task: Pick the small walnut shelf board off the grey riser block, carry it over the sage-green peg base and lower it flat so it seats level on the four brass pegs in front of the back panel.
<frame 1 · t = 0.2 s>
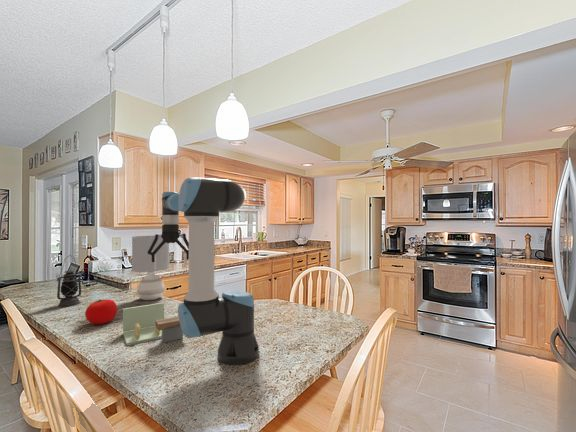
hand: (170, 267, 142), 27 cm above the countertop, fingers open, 13 cm apart
riser: (172, 339, 123), on the countertop
shelf board: (172, 325, 123), point 6 cm above the countertop, touching riser
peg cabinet: (147, 337, 126), on the countertop
tomato: (101, 323, 144), on the countertop
lantern: (69, 304, 177), on the countertop
lamp: (151, 299, 189), on the countertop
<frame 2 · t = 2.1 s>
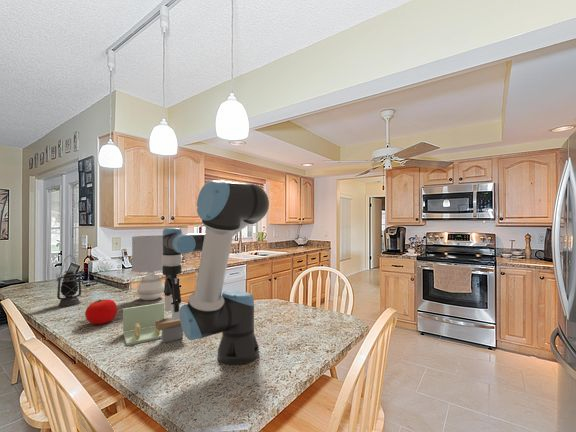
hand: (171, 314, 124), 10 cm above the countertop, fingers open, 13 cm apart
nothing on the countertop moved.
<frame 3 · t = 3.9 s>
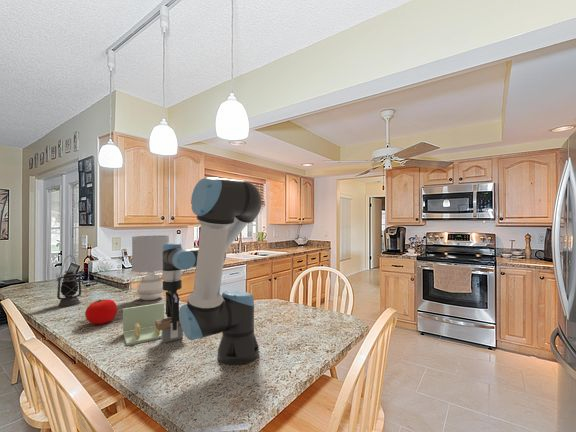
hand: (172, 334, 123), 2 cm above the countertop, fingers closed on shelf board, 6 cm apart
shelf board: (172, 325, 123), point 6 cm above the countertop, touching gripper, riser
everything else where it was.
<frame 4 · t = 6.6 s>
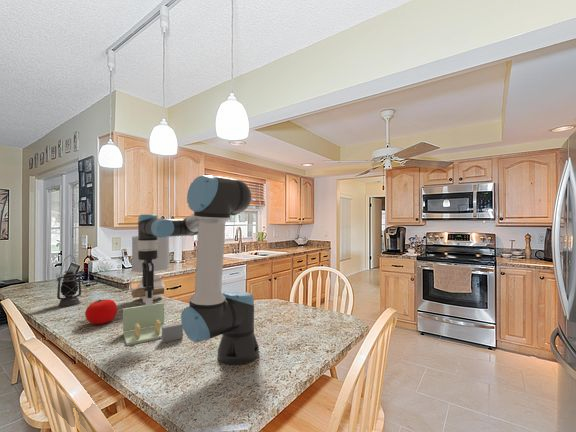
hand: (147, 303, 126), 14 cm above the countertop, fingers closed on shelf board, 6 cm apart
shelf board: (147, 294, 126), point 18 cm above the countertop, touching gripper
everything else where it was.
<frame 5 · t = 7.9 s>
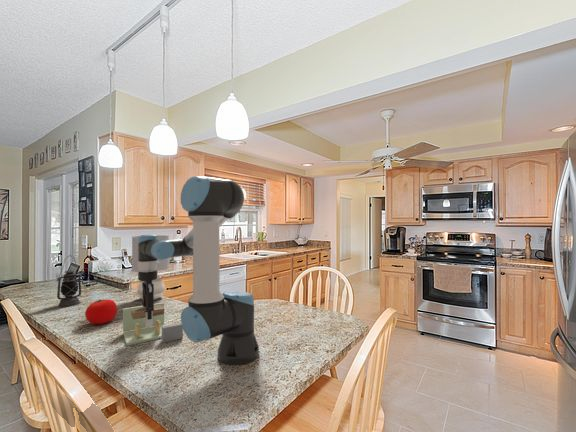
hand: (147, 324, 126), 6 cm above the countertop, fingers closed on shelf board, 6 cm apart
shelf board: (147, 314, 126), point 10 cm above the countertop, touching gripper
everything else where it was.
when the fingers open (4 cm above the countertop, at t = 9.1 s): shelf board drops 2 cm, resting on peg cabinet.
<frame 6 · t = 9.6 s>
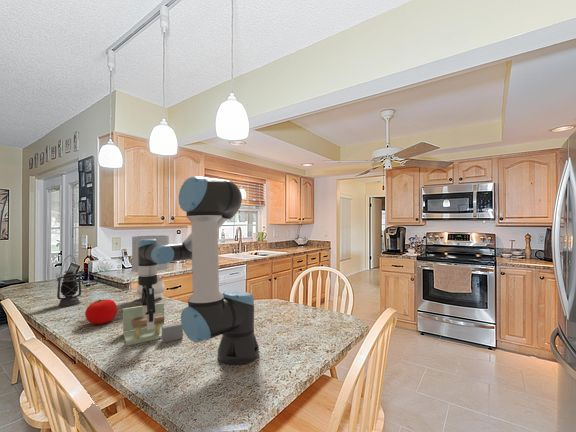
hand: (147, 324, 126), 5 cm above the countertop, fingers open, 13 cm apart
shelf board: (148, 323, 126), point 6 cm above the countertop, touching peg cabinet
everything else where it was.
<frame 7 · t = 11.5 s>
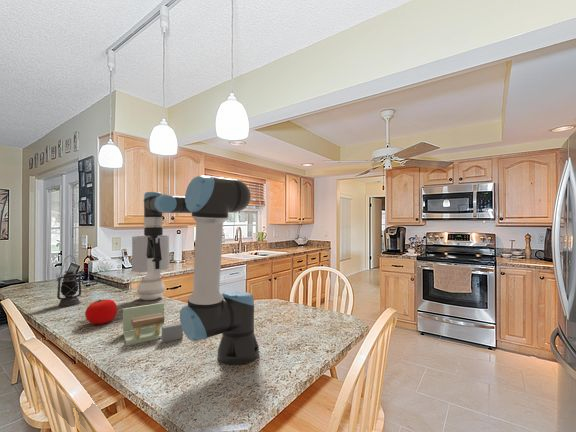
hand: (153, 274, 130), 26 cm above the countertop, fingers open, 13 cm apart
nothing on the countertop moved.
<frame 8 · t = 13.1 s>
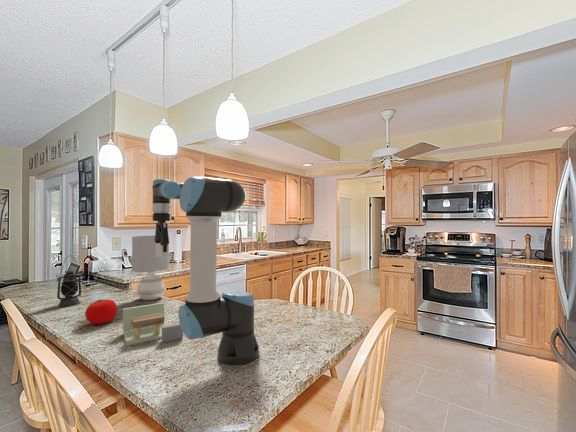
hand: (161, 258, 137), 33 cm above the countertop, fingers open, 13 cm apart
nothing on the countertop moved.
at the end: shelf board 0.0 cm off-centre on the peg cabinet, point 6.0 cm above the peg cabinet's base; shelf board tilted 0°; the gripper is holding nothing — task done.
